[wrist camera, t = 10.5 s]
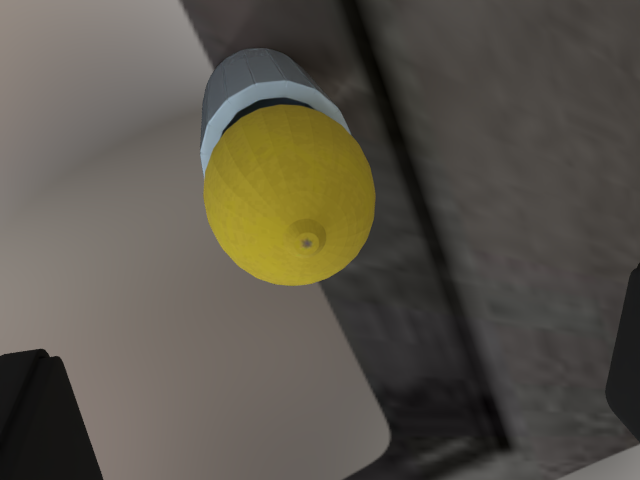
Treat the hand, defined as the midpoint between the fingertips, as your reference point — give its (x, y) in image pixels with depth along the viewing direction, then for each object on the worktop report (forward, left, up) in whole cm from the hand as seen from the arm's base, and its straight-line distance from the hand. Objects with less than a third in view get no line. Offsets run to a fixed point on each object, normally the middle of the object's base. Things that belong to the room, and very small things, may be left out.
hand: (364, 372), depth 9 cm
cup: (0, 0, -22) cm, 22 cm away
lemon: (+1, 0, -15) cm, 15 cm away
